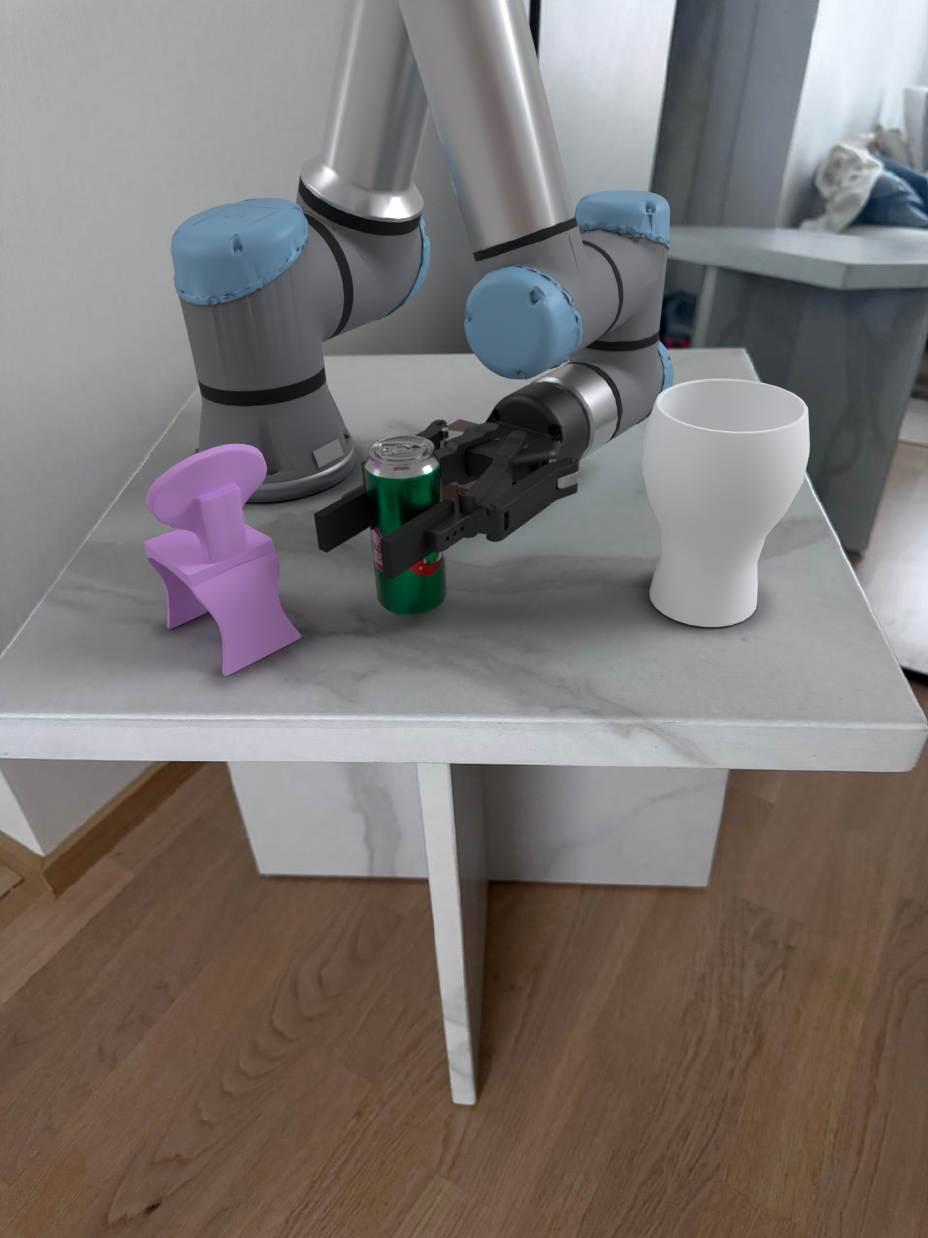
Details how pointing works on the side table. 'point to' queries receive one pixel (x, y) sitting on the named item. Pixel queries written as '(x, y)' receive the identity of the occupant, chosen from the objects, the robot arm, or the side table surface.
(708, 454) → the cup
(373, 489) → the soda can
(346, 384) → the side table surface
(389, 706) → the side table surface
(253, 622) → the toy chair
